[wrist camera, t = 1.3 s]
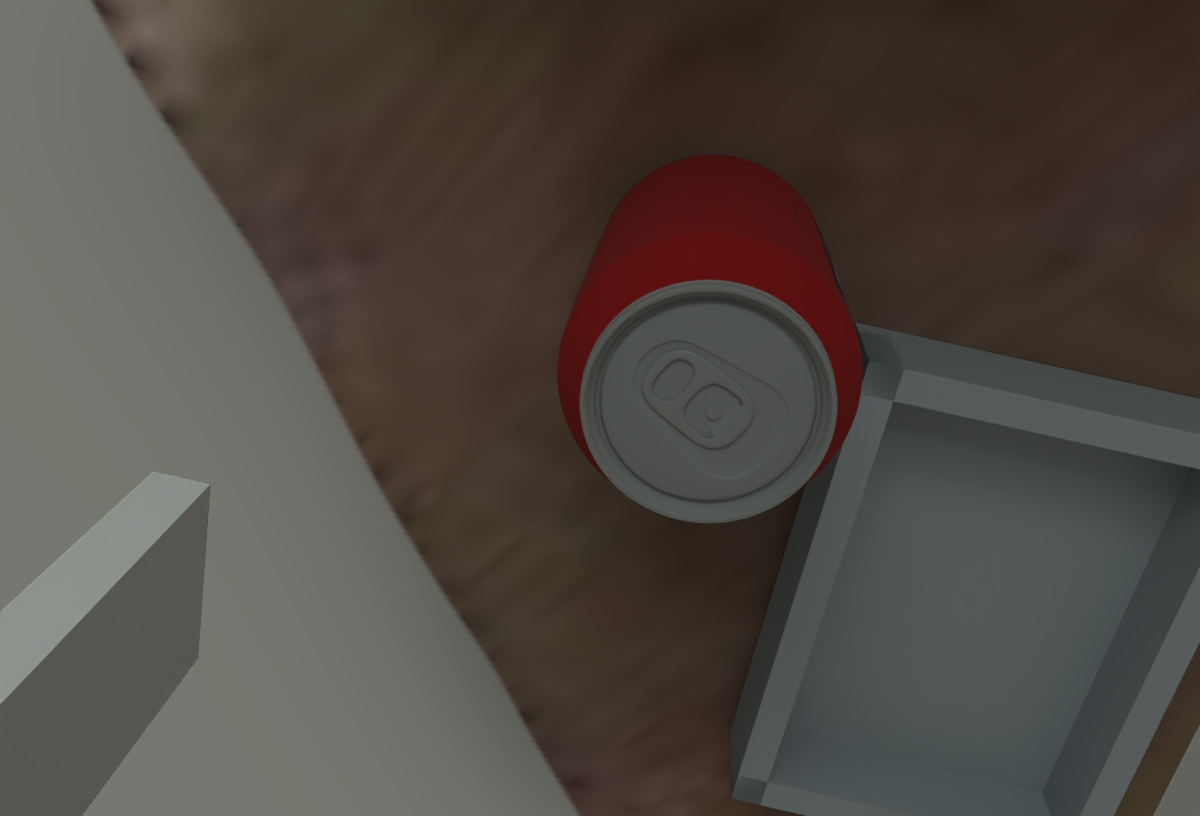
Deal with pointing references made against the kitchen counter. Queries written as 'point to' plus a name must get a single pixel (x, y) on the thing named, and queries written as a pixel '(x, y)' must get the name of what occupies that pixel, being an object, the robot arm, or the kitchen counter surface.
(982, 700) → the tray
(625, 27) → the kitchen counter surface
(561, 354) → the beverage can
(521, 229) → the kitchen counter surface
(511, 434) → the kitchen counter surface
